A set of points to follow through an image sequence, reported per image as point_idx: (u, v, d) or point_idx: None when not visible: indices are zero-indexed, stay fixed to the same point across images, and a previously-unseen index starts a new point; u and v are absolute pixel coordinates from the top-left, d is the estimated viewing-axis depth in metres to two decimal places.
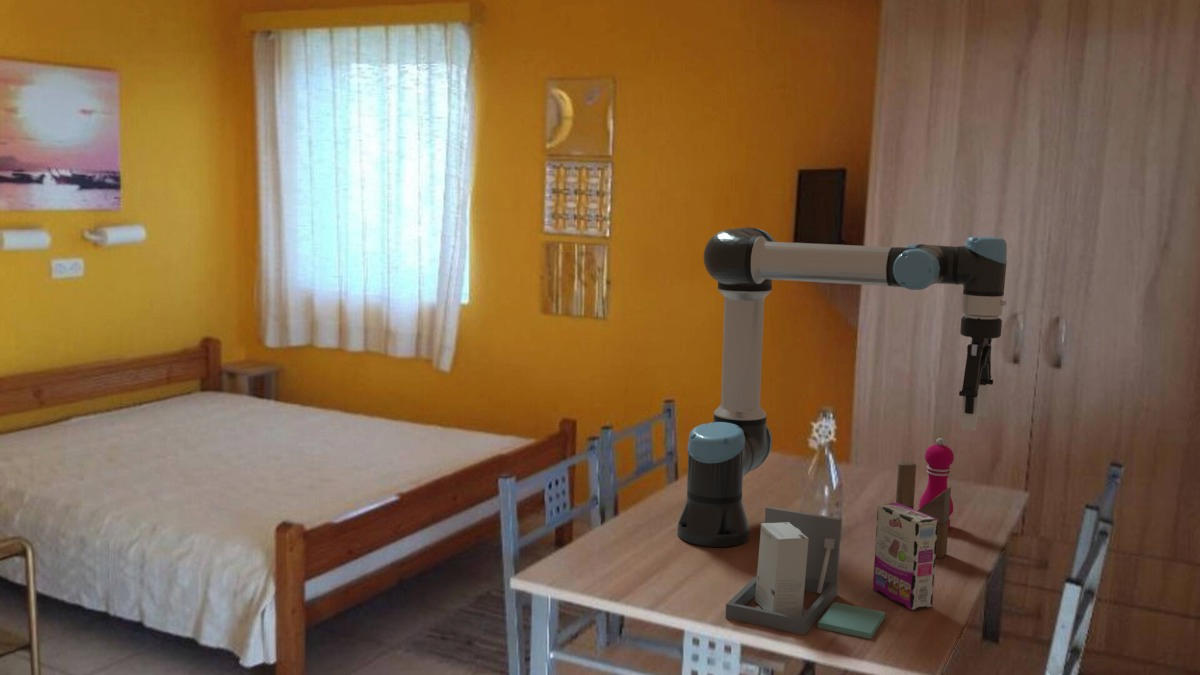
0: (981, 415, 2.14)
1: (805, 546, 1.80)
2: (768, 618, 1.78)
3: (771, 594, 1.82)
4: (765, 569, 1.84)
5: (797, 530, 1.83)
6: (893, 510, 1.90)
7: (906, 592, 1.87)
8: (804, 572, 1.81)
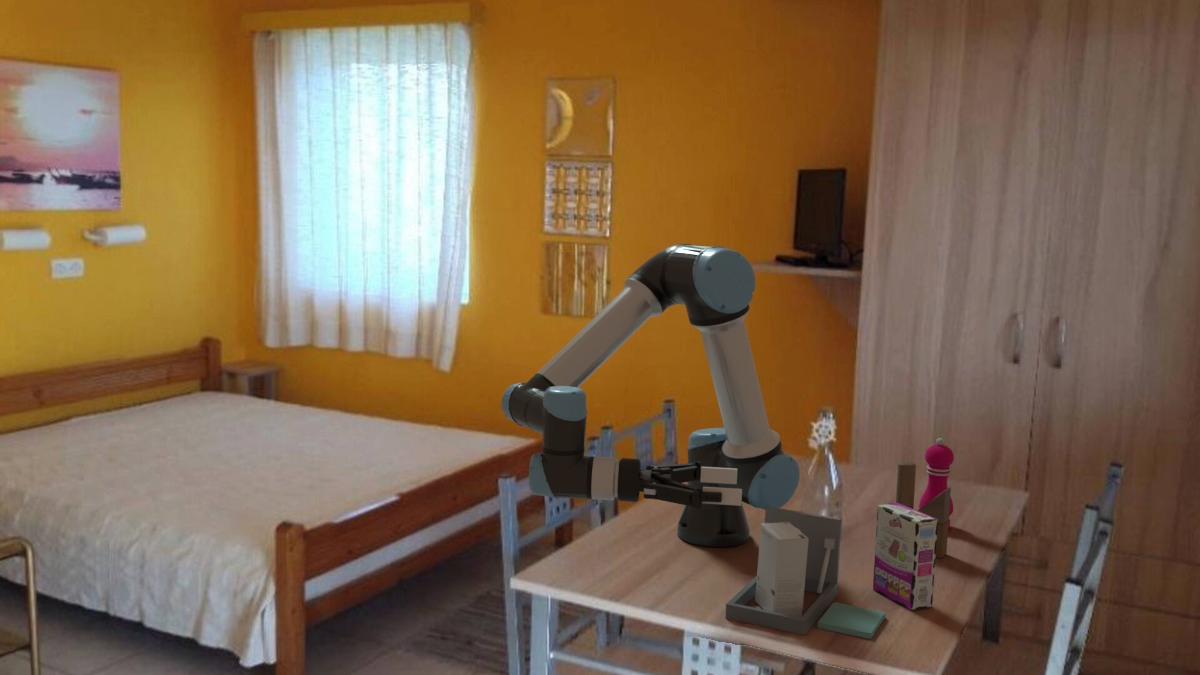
0: None
1: (805, 546, 1.80)
2: (768, 618, 1.78)
3: (771, 594, 1.82)
4: (765, 569, 1.84)
5: (797, 530, 1.83)
6: (893, 510, 1.90)
7: (906, 592, 1.87)
8: (804, 572, 1.81)
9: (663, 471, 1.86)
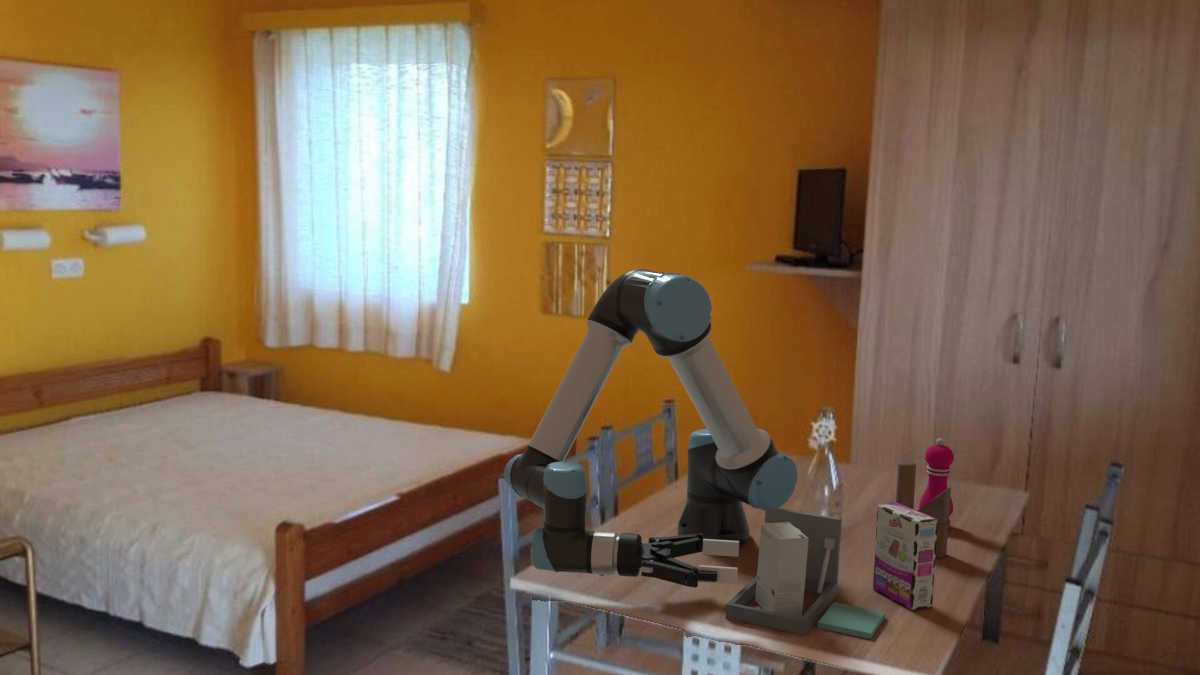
0: None
1: (805, 546, 1.80)
2: (768, 618, 1.78)
3: (771, 594, 1.82)
4: (765, 569, 1.84)
5: (797, 530, 1.83)
6: (893, 510, 1.90)
7: (906, 592, 1.87)
8: (804, 572, 1.81)
9: (663, 545, 1.88)
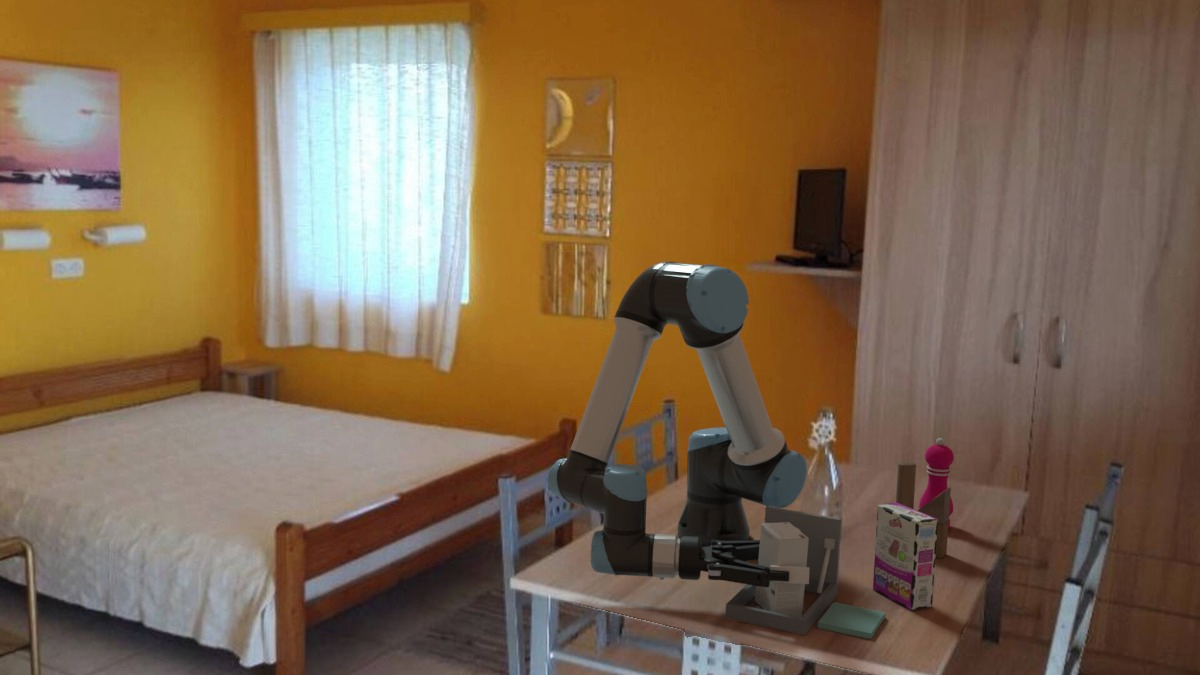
0: None
1: (805, 546, 1.80)
2: (768, 618, 1.78)
3: (771, 594, 1.82)
4: None
5: (797, 530, 1.83)
6: (893, 510, 1.90)
7: (906, 592, 1.87)
8: None
9: (724, 549, 1.87)
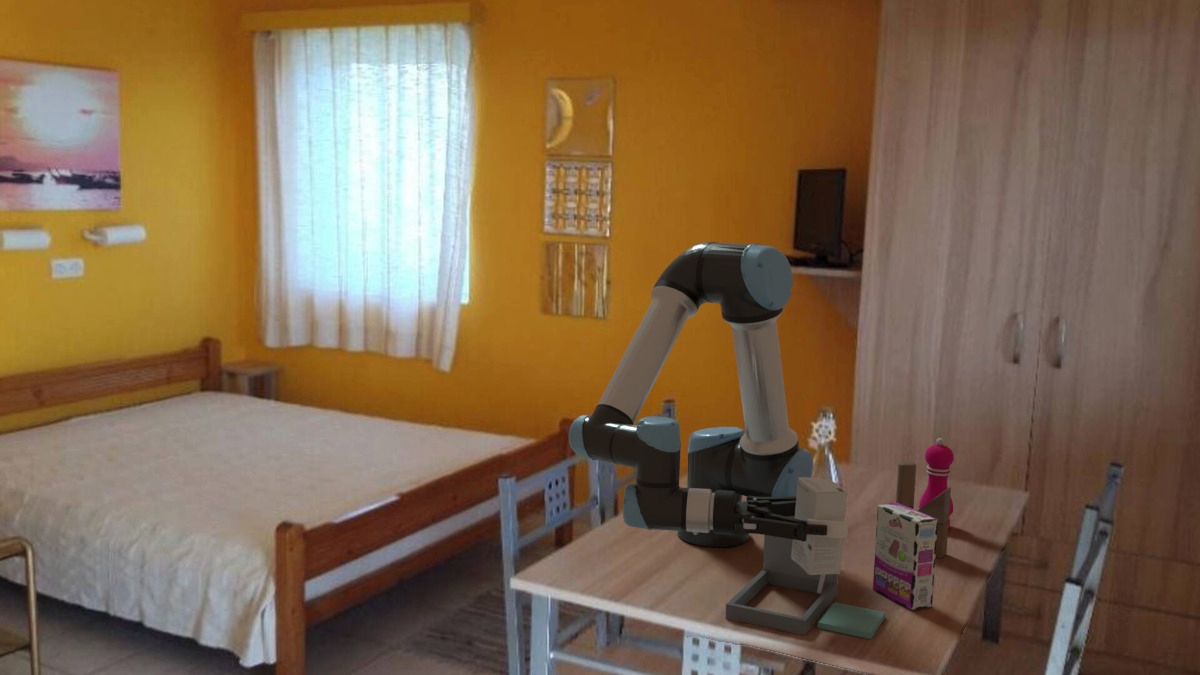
0: None
1: (843, 500, 1.75)
2: (768, 618, 1.78)
3: (808, 549, 1.76)
4: None
5: (835, 484, 1.78)
6: (893, 510, 1.90)
7: (906, 592, 1.87)
8: None
9: (760, 504, 1.82)
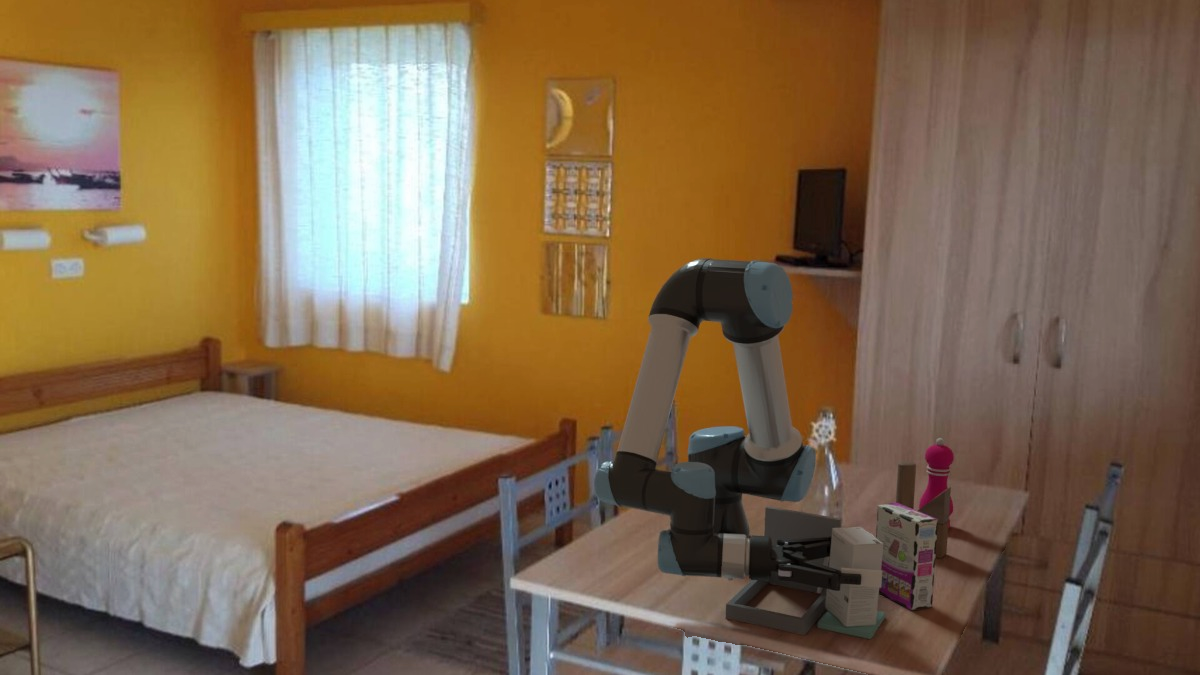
0: None
1: (880, 552, 1.75)
2: (768, 618, 1.78)
3: (844, 601, 1.76)
4: None
5: (870, 535, 1.78)
6: (893, 510, 1.90)
7: (906, 592, 1.87)
8: None
9: (795, 548, 1.82)
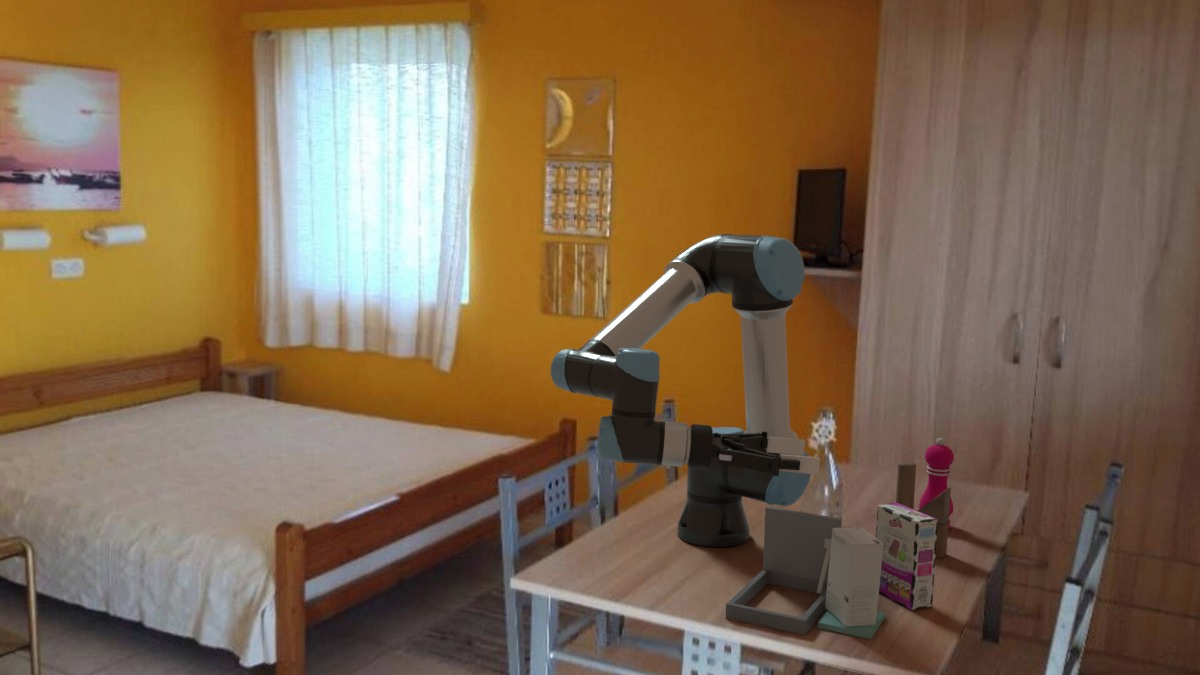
0: None
1: (880, 552, 1.75)
2: (768, 618, 1.78)
3: (844, 601, 1.76)
4: (837, 575, 1.79)
5: (870, 535, 1.78)
6: (893, 510, 1.90)
7: (906, 592, 1.87)
8: (878, 578, 1.76)
9: (733, 439, 1.82)
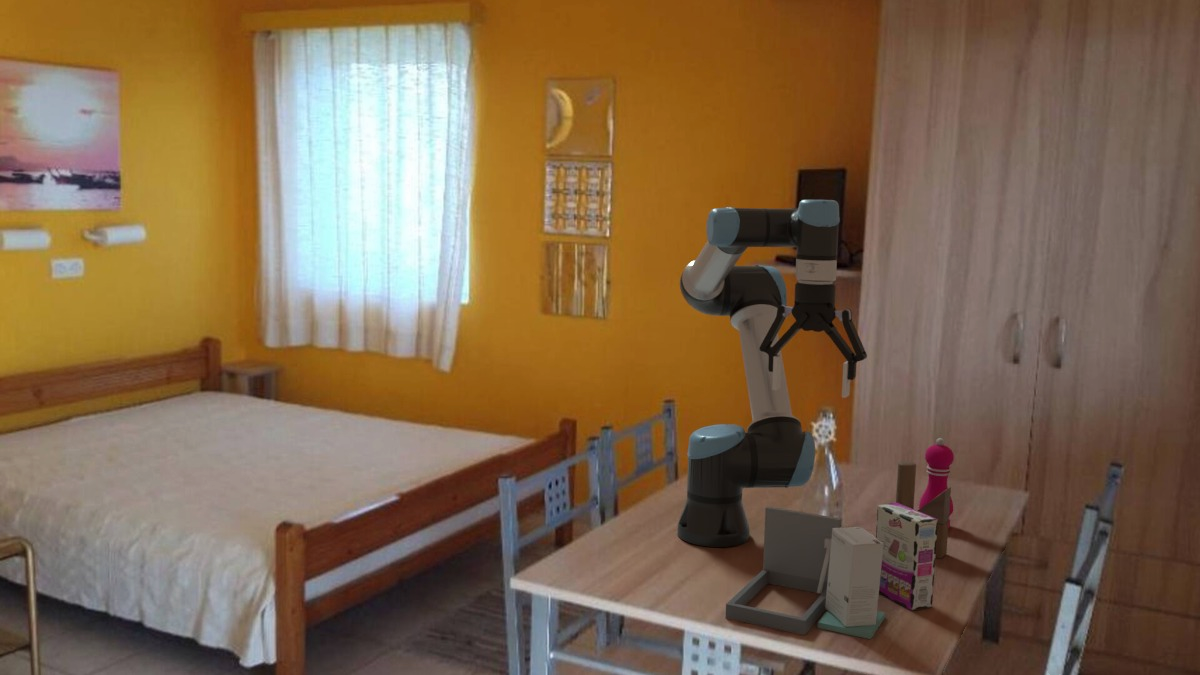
0: None
1: (880, 552, 1.75)
2: (768, 618, 1.78)
3: (844, 601, 1.76)
4: (837, 575, 1.79)
5: (870, 535, 1.78)
6: (893, 510, 1.90)
7: (906, 592, 1.87)
8: (878, 578, 1.76)
9: None
